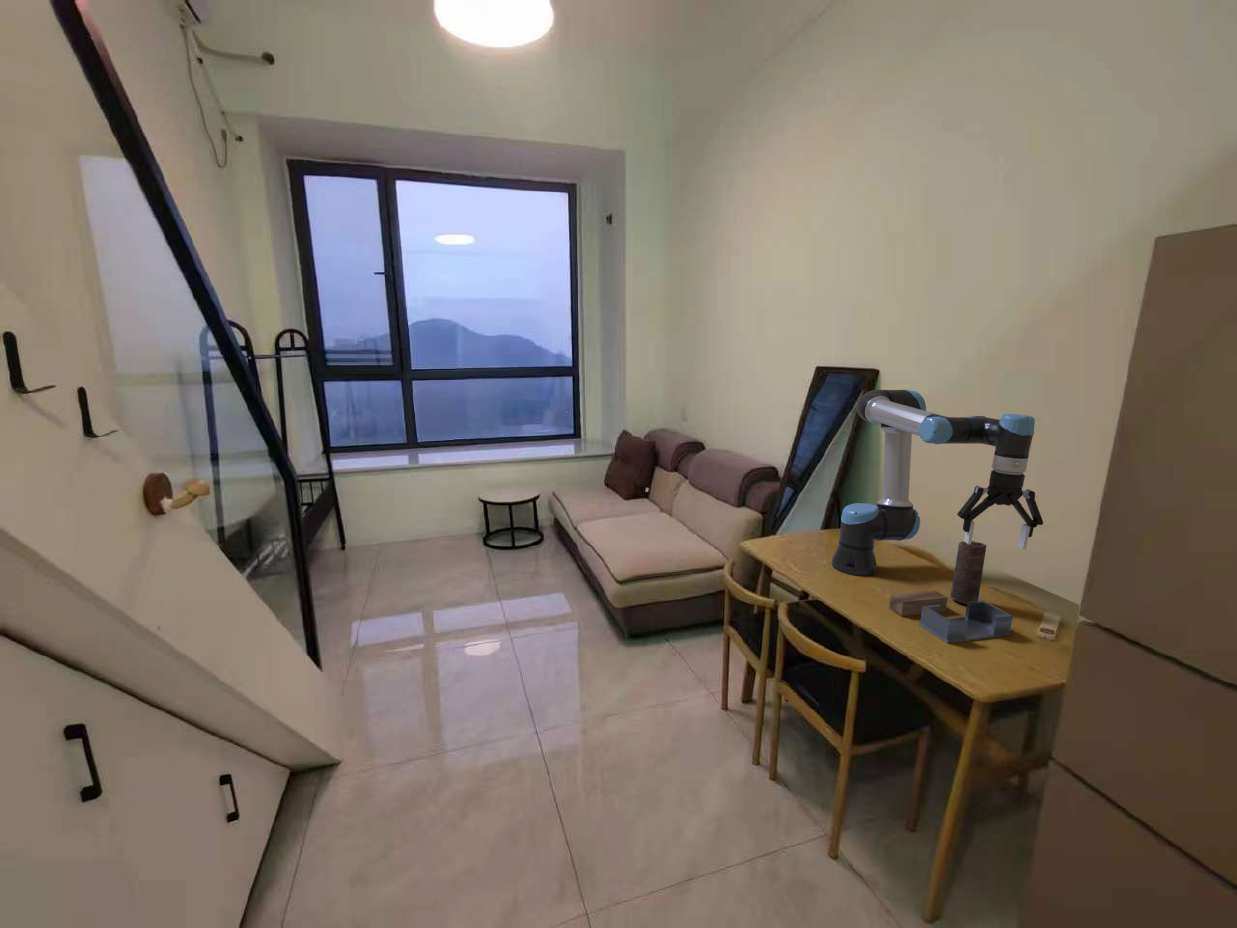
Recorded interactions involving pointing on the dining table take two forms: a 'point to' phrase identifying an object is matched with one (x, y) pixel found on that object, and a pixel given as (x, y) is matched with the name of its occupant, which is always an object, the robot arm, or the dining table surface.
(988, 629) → the bracket plate
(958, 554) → the candle
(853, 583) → the dining table surface
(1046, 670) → the dining table surface
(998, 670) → the dining table surface
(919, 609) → the rail bar
